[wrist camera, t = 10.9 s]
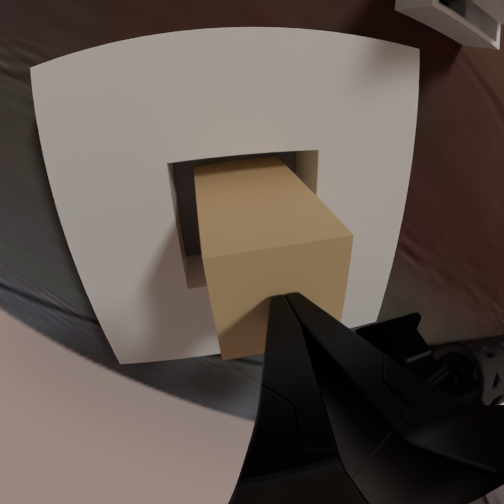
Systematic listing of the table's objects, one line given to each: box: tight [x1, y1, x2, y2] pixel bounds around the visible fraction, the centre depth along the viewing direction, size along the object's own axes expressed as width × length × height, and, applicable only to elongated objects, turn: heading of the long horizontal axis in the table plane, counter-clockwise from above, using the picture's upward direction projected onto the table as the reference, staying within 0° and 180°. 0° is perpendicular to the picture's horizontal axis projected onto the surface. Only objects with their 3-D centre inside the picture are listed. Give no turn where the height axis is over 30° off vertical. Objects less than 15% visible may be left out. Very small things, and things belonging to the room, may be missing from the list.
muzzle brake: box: [430, 335, 504, 405], centre depth 29 cm, size 10×28×10 cm, turn 74°
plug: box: [193, 156, 354, 361], centre depth 12 cm, size 4×4×8 cm
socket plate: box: [30, 27, 420, 364], centre depth 14 cm, size 16×16×3 cm
